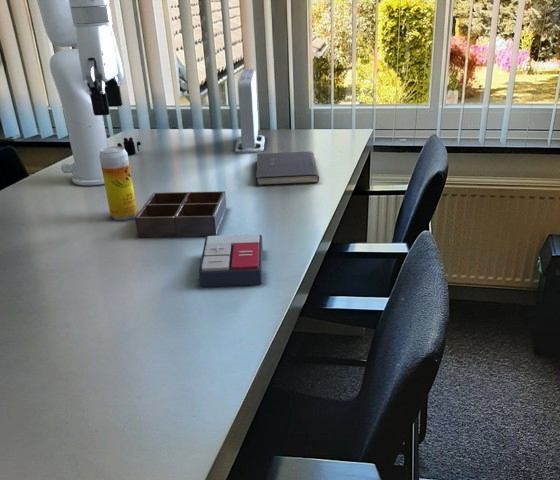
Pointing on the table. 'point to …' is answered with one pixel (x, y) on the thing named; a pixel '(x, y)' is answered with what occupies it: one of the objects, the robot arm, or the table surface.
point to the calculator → (231, 260)
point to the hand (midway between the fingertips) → (108, 110)
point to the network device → (248, 113)
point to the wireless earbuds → (129, 146)
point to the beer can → (118, 182)
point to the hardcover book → (286, 168)
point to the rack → (182, 214)
